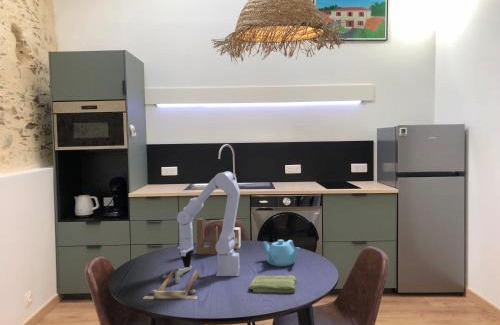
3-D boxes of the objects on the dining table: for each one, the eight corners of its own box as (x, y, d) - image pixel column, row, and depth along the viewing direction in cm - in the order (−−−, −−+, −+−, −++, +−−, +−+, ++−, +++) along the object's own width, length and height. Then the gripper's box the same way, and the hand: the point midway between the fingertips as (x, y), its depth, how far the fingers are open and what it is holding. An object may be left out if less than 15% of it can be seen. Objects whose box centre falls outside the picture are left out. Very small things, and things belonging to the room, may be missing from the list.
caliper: (177, 284, 153) (177, 269, 153) (175, 284, 153) (174, 269, 153) (192, 267, 173) (192, 254, 173) (190, 267, 174) (190, 254, 173)
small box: (224, 248, 202) (223, 229, 202) (226, 245, 208) (226, 226, 207) (239, 249, 201) (238, 229, 200) (241, 246, 206) (240, 227, 206)
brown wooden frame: (217, 254, 192) (216, 219, 191) (196, 254, 193) (195, 219, 192) (218, 252, 195) (217, 218, 194) (198, 252, 196) (197, 218, 195)
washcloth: (253, 280, 156) (253, 273, 156) (296, 282, 154) (296, 274, 153) (248, 293, 143) (248, 285, 143) (295, 295, 141) (295, 286, 140)
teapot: (300, 267, 170) (300, 243, 170) (267, 269, 169) (267, 245, 168) (293, 257, 185) (293, 235, 185) (263, 258, 184) (262, 236, 184)
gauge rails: (208, 273, 165) (208, 267, 165) (196, 299, 138) (196, 292, 138) (162, 273, 166) (162, 268, 166) (142, 299, 139) (142, 292, 139)
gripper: (181, 233, 176) (182, 262, 176) (173, 241, 161) (174, 273, 162) (196, 233, 175) (197, 262, 176) (189, 241, 161) (190, 273, 162)
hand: (187, 267), depth 169 cm, fingers closed
